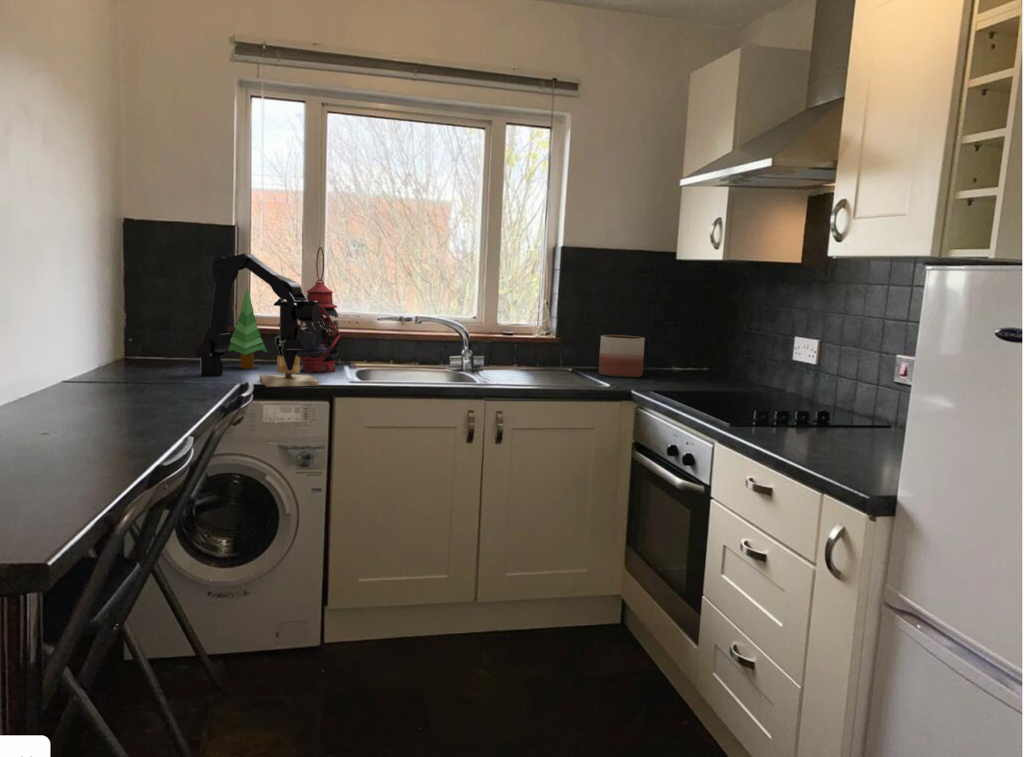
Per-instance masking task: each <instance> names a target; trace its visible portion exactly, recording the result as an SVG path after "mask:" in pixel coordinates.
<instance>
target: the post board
mask: <svg viewBox="0 0 1024 757" xmlns="http://www.w3.org/2000/svg"><path fill="white" fill-rule="evenodd" d="M258 378H259V381H260V382H261V381H262V382H263V383H264V384H263V383H262V382H261V383H262V384H263V385H264V386H265V387H269V388H272V387H274V388H275V387H317V386H319V385H320V384H319V383H320V382H319V380H318V379H316V378H314V376H312V375H310V374H293V373H284V374H263V375H262V374H260V375H259V377H258Z"/></svg>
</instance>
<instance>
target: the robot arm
mask: <svg viewBox="0 0 1024 757" xmlns="http://www.w3.org/2000/svg"><path fill="white" fill-rule="evenodd" d="M245 269H246V270H248V271H250V272H251V273H252V274H254V275H255V276H256V277H258V278H259V279H261V280H262V281H264V282H265V283H266V284H267V285H268V286H270V288H271V290H272V292H274V294H275V295H276V296H277V297H278V299H277V301H275V302H274V303H273V306H275V307H279V322H278V327H279V335H277V336H276V337H274V345H276V349H277V351H278V353H279V356H284V359H285V362H286V365H287V367H288V370H292V368H293V364H294V361H295V357H296V356H297V354H298V353H299V352H300V351H301V350H302V349H304V343H303V342H302V341H301V340H300V339H302V340H305V341H307V342H309V343H312V344H313V343H314V341H315V338H316V336H317V335H315V334H312V333H311V331H310V329H307V328H305V327H303V329H300V323H299V322H300V321H302V322H304V323H305V322H316V323H317V322H318V323H319V321H320V319H322V318H321V315H322V311H321V309H320V307H319V305H318V301H308V300H307V296H306V295H305V293H304V292H303V290H302V285H301V284H300V283H299V282H297V281H295V280H293V279H290V278H288V277H285V276H283V275H280V274H279V273H278V272H276V271H275V270H274V269H272V268H271V267H269V266H268V265H266V264H265V263H263V262H262V261H261V260H260V259H259V258H257V257H256V256H255V255H254V254H252V253H239V254H237V255H232V256H231V255H230V256H227V257H226V256H225V257H224V256H217V257H215V258H214V259H213V260H212V263H211V275H212V277H213V280H214V283H215V285H214V293H213V300H212V309H211V316H210V323H209V327H208V328H207V330H206V331H205V332H204V334H203V338H202V341H201V344H200V345H199V346H198V347H197V348H196V349H195V350H194V354H195V357H196V358H199V359H200V360H199V361H200V372H199V374H200V376H201V377H219V376H223V373H224V361H223V360H222V357H225V356H226V353H227V350H228V348H229V345H231V343H230V340H231V338H232V337H233V336H232V333H229V332H228V330H227V321H228V312H229V306H230V297H231V292H232V291H231V290H232V285H233V283H234V282H235V281H236V279H237V277H238V274H239V271H242V270H245ZM304 350H305V349H304Z"/></svg>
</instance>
